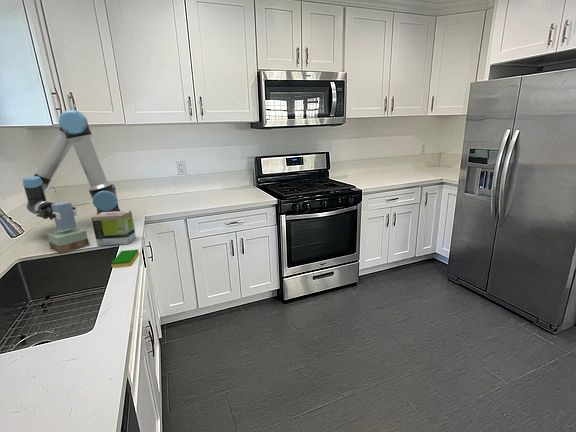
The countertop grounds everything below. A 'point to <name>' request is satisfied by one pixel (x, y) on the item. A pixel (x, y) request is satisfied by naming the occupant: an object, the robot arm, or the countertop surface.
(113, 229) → the tea box
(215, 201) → the countertop surface
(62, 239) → the tower top
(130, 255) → the dish sponge
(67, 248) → the block
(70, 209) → the blue block
